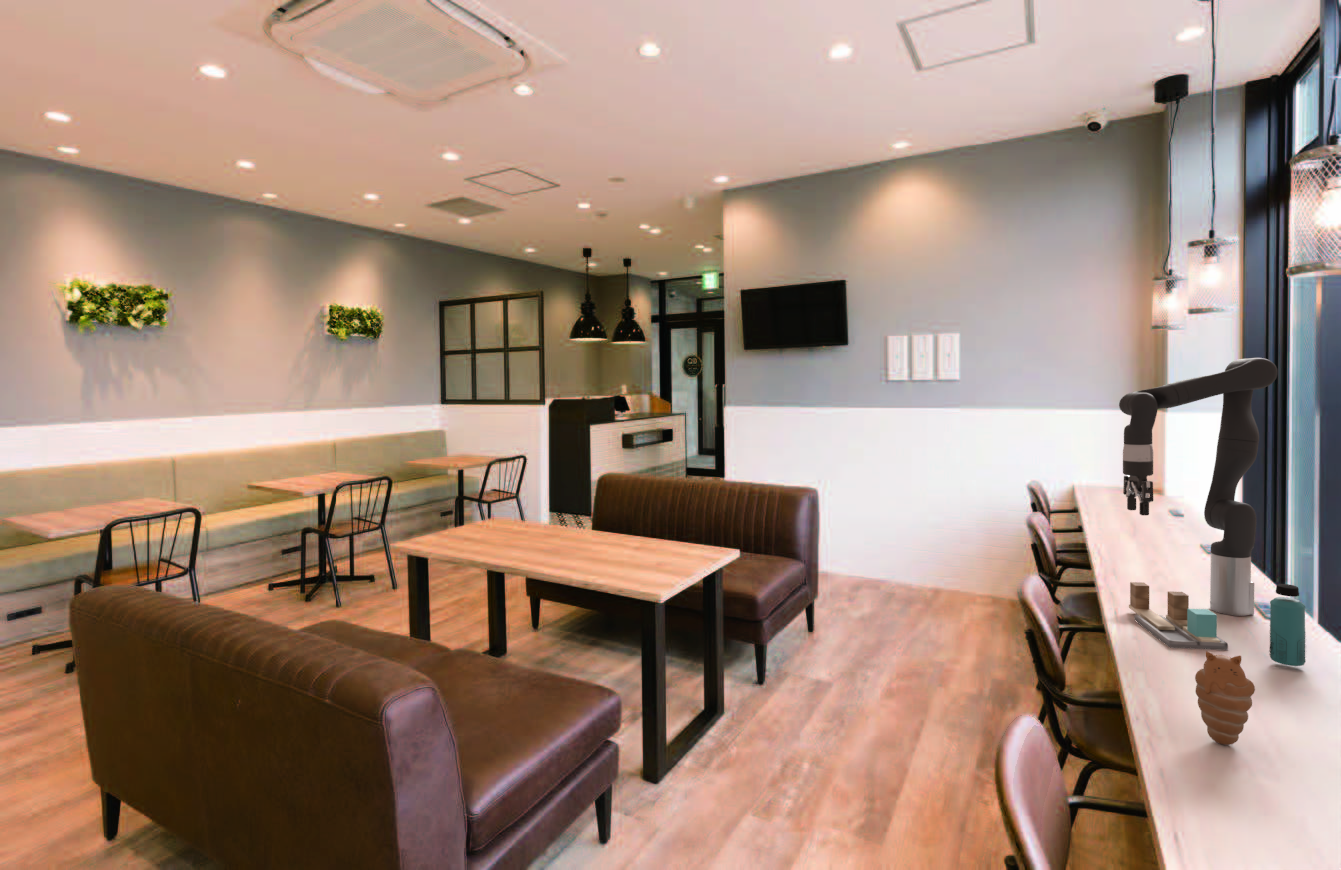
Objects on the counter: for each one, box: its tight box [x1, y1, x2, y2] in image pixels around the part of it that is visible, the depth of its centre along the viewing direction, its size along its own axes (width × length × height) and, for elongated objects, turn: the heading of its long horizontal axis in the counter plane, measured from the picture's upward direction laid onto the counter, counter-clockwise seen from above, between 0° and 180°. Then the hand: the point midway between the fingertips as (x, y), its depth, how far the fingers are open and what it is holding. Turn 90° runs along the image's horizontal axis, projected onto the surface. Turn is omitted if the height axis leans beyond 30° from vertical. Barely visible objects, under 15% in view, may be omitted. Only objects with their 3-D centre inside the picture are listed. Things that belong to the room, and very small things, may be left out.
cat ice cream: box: [1194, 650, 1256, 746], centre depth 128 cm, size 9×8×18 cm
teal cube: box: [1187, 608, 1218, 637], centre depth 177 cm, size 5×5×6 cm
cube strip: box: [1128, 581, 1175, 630], centre depth 192 cm, size 4×19×8 cm, turn 166°
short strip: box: [1165, 591, 1190, 628], centre depth 188 cm, size 4×8×8 cm, turn 166°
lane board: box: [1134, 613, 1229, 651], centre depth 183 cm, size 13×21×2 cm, turn 166°
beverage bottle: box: [1268, 583, 1307, 667], centre depth 160 cm, size 6×7×20 cm
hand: (1137, 512), depth 201 cm, fingers open, 8 cm apart
